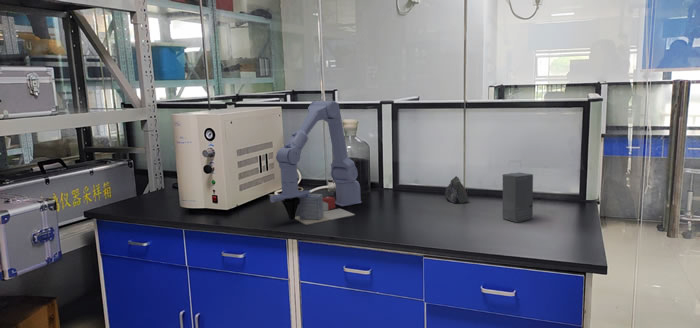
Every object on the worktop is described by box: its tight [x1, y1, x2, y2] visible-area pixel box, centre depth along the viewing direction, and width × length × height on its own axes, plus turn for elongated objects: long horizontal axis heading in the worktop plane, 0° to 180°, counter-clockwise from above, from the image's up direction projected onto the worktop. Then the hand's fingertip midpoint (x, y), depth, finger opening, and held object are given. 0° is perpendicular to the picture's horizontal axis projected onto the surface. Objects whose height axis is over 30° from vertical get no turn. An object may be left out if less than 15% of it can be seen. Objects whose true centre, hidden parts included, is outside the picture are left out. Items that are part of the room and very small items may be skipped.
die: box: [323, 196, 336, 211], centre depth 193 cm, size 4×4×4 cm
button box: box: [323, 201, 329, 212], centre depth 190 cm, size 8×8×3 cm
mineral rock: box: [444, 175, 469, 204], centre depth 198 cm, size 13×11×10 cm
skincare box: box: [502, 172, 534, 224], centre depth 168 cm, size 8×7×16 cm
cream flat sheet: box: [294, 208, 356, 226], centre depth 181 cm, size 20×11×1 cm, turn 120°
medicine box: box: [298, 193, 324, 220], centre depth 178 cm, size 8×4×9 cm, turn 71°
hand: (291, 218), depth 175 cm, fingers closed
